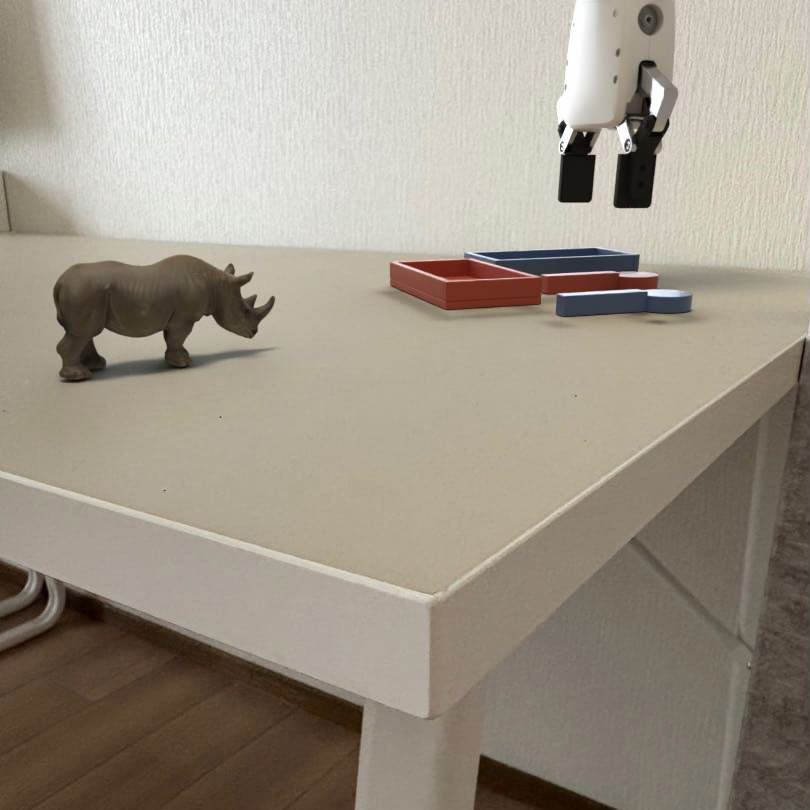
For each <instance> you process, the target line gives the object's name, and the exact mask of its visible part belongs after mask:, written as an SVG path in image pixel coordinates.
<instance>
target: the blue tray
mask: <svg viewBox="0 0 810 810" xmlns="http://www.w3.org/2000/svg"><path fill="white" fill-rule="evenodd" d="M470 258H472V259H476V260H479V261H483V262H487V263H491V264H494V265H498V266H502V267H506V268H509V269H513V270H517V271H520V272H524V273H528V274H532V275H535V276H539V277H541V275H542V274H560V273H581V272H601V271H614V272H639V269H640V268H639V267H640V258H641V254H639V253H633V252H629V251H628V252H627V251H622V250H617V249H611V248H605V247H599V246H592V247H591V246H590V247H569V248H568V247H567V248H566V247H565V248H544V249H543V248H542V249H540V248H539V249H519V250H518V249H517V250H515V249H514V250H494V251H493V250H490V251H467V252H464V253H463V259H470Z"/></svg>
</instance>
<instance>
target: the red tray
mask: <svg viewBox="0 0 810 810" xmlns="http://www.w3.org/2000/svg"><path fill="white" fill-rule="evenodd" d="M389 285H390V286H392V287H394V288H395V289H398V290H400V291H402V292H405V293H408V294H410V295H412V296H414V297H416V298H419V299H421V300H423V301H426V302H427V303H430V304H433V305H435V306H437V307H440V308H442V309H444V310H458V309H459V310H463V309H464V310H465V309H479V308H495V307H515V306H530V305H532V306H533V305H541V304H542V277H539V276H535V275H532V274H528V273H524V272H520V271H517V270H513V269H509V268H506V267H502V266H498V265H494V264H491V263H487V262H483V261H479V260H476V259H472V258H470V259H464V258H451V259H450V258H449V259H448V258H447V259H427V260H425V259H423V260H422V259H421V260H405V261H404V260H401V261H399V260H398V261H390V262H389Z"/></svg>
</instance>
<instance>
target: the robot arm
mask: <svg viewBox="0 0 810 810" xmlns="http://www.w3.org/2000/svg"><path fill="white" fill-rule="evenodd" d="M675 47H676V0H575V5H574V10H573V17H572V21H571V28H570V36H569V41H568V48H567V49H568V50H567V58H566V65H565V76H564V86H563V87H564V88H563V94H562V96H560V98H559V99H558V101H557V104H556V112H557V118H558V119H557V120H558V126H557V133H558V136H559V140H560V141H559V145H558V152H559V154H560V163H559V175H558V191H557V201H558V202H559V203H562V204H588V203H591V202H592V200H593V195H594V194H593V192H594V181H595V173H596V162H597V161H596V158H597V154H591V153H592V152H593V149H594V147H595V145H596V143H597V141H598V138H599V137H600V134H601V132H602V130H603V129H607V130H609V131H614V132H615V131H617V133H618V136H619V139H620V142H621V146H622V149H623V152H624V153H618V154H617V161H616V169H615V181H614V192H613V200H612V201H613V202H612V204H613V207H614V208H615V209H649V208H650V207H651V206H652V201H653V193H654V182H655V174H656V166H657V158H658V155H659V154H660V153H661V151H662V150H663V149H662V148H663V138H664V137H665V135H666V133H667V132H668V130H669V128H670V126H671V125H670V124H671V122H670V118H671V116H672V113H673V110H674V108H675V105H676V102H677V100H678V97H679V90H678V88H677V86H676V85H674V83H673V79H674V64H675V51H676V50H675ZM584 133H585V134H584Z"/></svg>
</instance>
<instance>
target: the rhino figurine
mask: <svg viewBox="0 0 810 810" xmlns="http://www.w3.org/2000/svg"><path fill="white" fill-rule="evenodd" d="M235 273H236V268H235V265H234V264H233V263H232V262H231V263H230V262H229V264H227V265H226V267H225V268H224V270H223V269H220V268H218V267H216V266H214V265H213V264H211V263H209V262H207V261H205V260H203V259H202V258H199V257H197V256H193V255H190V254H175V255H171V256H168V257H166V258H163V259H161V260H160V261H157V262H154V263H152V264H147V265H136V264H130V263H125V262H121V261H118V260H109V259H108V260H107V259H106V260H100V261H94V262H79V263H74V264H72V265H71V266H70V267H68V268H67V269H66V270H65V271H63V272H62V274H60V276H59V277H58V279H57V280H56V282H55V284H54V285H53V290H52V297H53V303H54V306H55V309H56V321H57V322H58V324H59V325H60V326H61V327H62V328H63V330H64V332H65V333H64V335H63V337H62V338H61V339H60V340H59V341H58V343H57V344H56V348H55V351H56V353H57V354H58V355H59V356H60V358H61V361H62V363H61V364H62V366H61V369H60V370H59V372H58V376H59V377H60V378H62V379H66V380H74V381H77V380H81V379H86V378H92V375H93V373H92V372H91V371H90V370H95V369H99V368H105V367H106V366H107V360H106V358H105V357H104V356H102V355H100V354H99V352H98V350H97V348H96V345H95V342H94V338H95V337H98V336H99V335H101V334H102V333H103V331H104V330H105V329H106V330H107V331H109V332H112V333H113V334H116V335H119V336H123V337H127V338H135V339H136V338H137V339H139V338H141V339H142V338H147V337H151V336H153V335H155V334H158V333H160V332H162V336H163V341H164V343H165V345H166V349H165V351H164V361H165V362H166V363H168V364H170V365H172V366H175V367H180V368H181V367H186V366H191V365H192V364H193V363H194V360H193V358H192V357H191V356H190V352H189V351H188V350H187V348H186V347H185V346H184V344H185V341H186V340H187V338H188V337H189V336H190V334H191V333H192V331H193V328H194V326H195V324H196V323H198V322H200V321H201V319H202V318H203V317H210V316H211V317H212V318H213V320H214V321H215V322H216V324H217V325H218V326H219V327H221V328H222V329H223V330H225V331H227V332H229V333H232V334H234V335H236V336H239V337H243V338H245V339H249V340H251V339H253V338H254V337H255V336H256V335H257V333H258V332H259V325H260V323H261V322H262V321H263V320H264V319H265V318H266V317H267V316H268V315H269V314H270V312H271V311H272V309H273V308H274V305H275V302H276V297H275V295H271V296H270V298H269V299H268V301H267V302H266V303H265V304H263V305H260V306H258V307H255V304H256V301H257V299H258V294H256V293H255V294H253V295H250V296H248V297H245V298H244V297H243V295H242V292H241V291H242V290H241V289H242V287H244V286H245V285H247V284H248V283H250V282H251V281H252V278H253V276H254V274H255V272H254V271H250V272H248V273H246V274H241V275H239V276H236V275H235Z"/></svg>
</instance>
